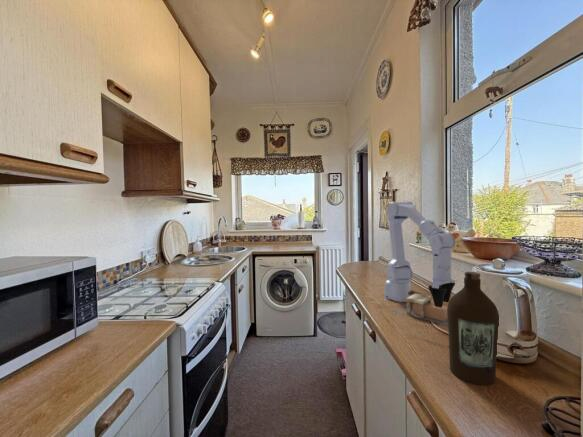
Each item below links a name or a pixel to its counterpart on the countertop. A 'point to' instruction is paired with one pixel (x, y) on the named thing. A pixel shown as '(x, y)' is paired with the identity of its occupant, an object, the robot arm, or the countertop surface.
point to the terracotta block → (431, 311)
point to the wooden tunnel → (417, 299)
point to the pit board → (424, 316)
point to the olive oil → (473, 333)
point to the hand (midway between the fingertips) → (442, 304)
